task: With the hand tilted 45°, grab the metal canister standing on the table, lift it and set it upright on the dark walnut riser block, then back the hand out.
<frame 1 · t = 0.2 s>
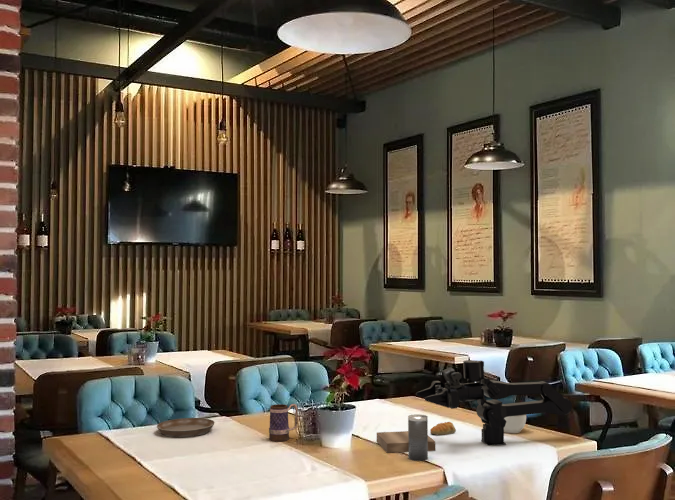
hand: (420, 396, 244), 17 cm above the table, tool horizontal, fingers open, 9 cm apart
plant saucer: (185, 433, 269), on the table
canister: (418, 458, 230), on the table
pastry: (443, 434, 264), on the table
mug: (283, 439, 256), on the table
riser: (405, 445, 246), on the table
lidded jar: (511, 431, 266), on the table
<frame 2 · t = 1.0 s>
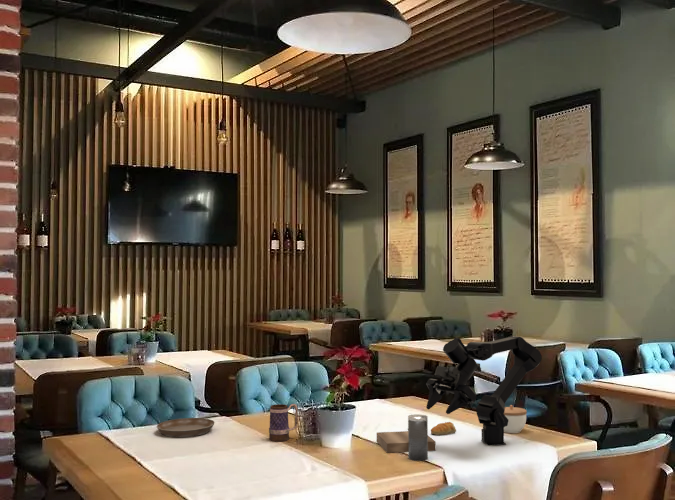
hand: (436, 410, 235), 14 cm above the table, tool tilted 45°, fingers open, 9 cm apart
nothing on the table moved.
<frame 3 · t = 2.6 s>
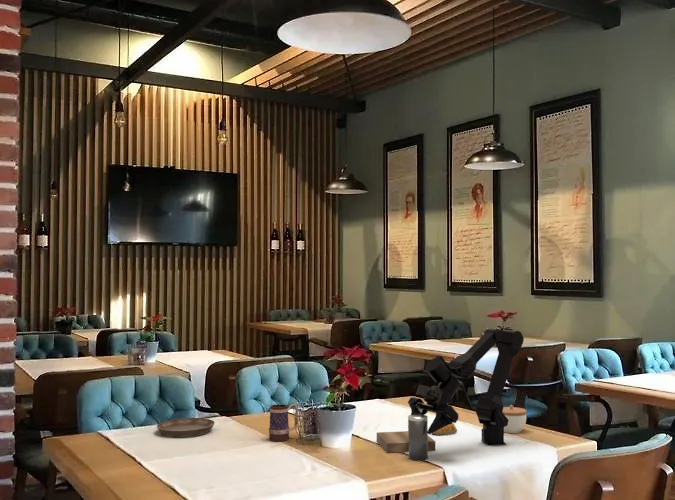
hand: (418, 430, 230), 8 cm above the table, tool tilted 45°, fingers open, 9 cm apart
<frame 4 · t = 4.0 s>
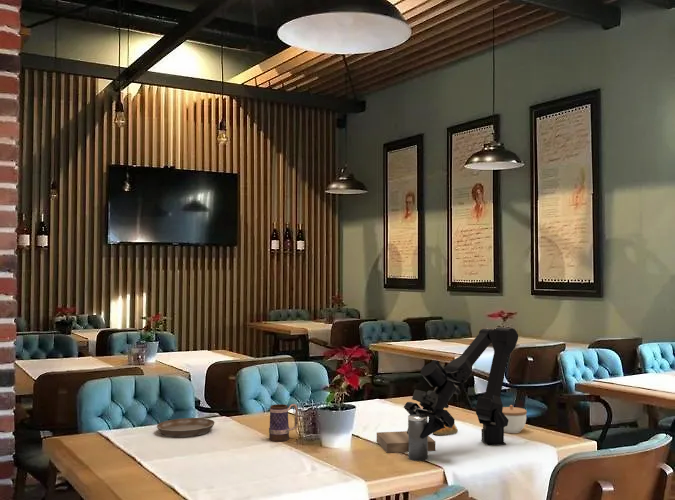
hand: (414, 435, 229), 7 cm above the table, tool tilted 45°, fingers closed on canister, 6 cm apart
canister: (418, 458, 230), on the table, touching gripper
everything else where it was.
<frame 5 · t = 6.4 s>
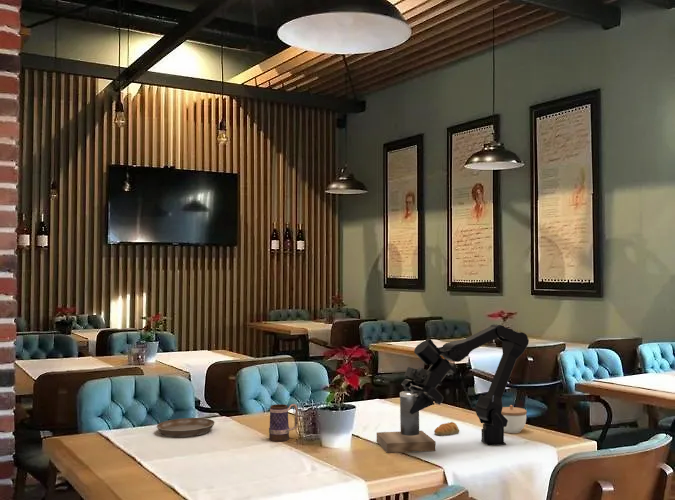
hand: (405, 411, 236), 13 cm above the table, tool tilted 45°, fingers closed on canister, 6 cm apart
canister: (409, 433, 236), point 6 cm above the table, touching gripper
when the fingers open (11 cm above the table, at t = 8.6 s): canister stays where it is, resting on riser.
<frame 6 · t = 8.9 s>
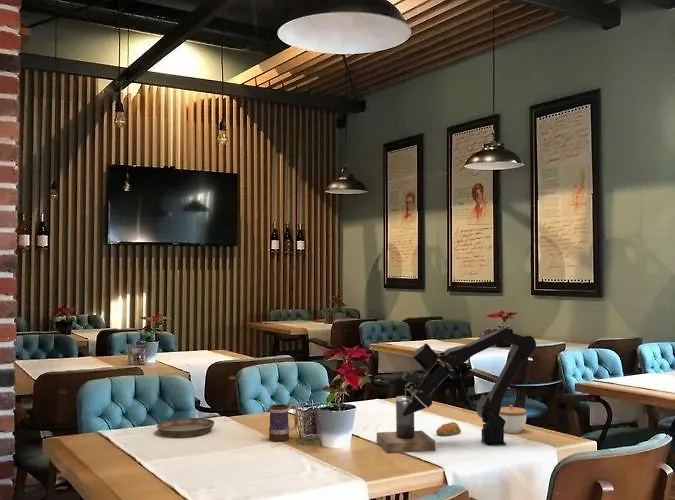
hand: (400, 412, 246), 11 cm above the table, tool tilted 45°, fingers open, 8 cm apart
canister: (405, 436, 246), point 3 cm above the table, touching riser
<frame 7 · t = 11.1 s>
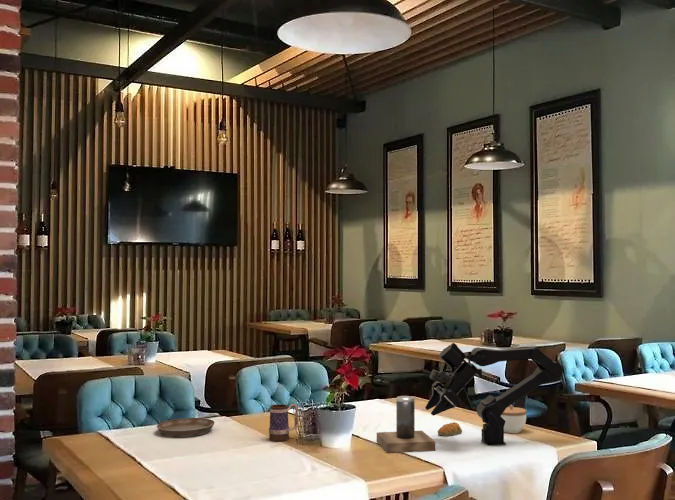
hand: (428, 411, 247), 11 cm above the table, tool tilted 45°, fingers open, 9 cm apart
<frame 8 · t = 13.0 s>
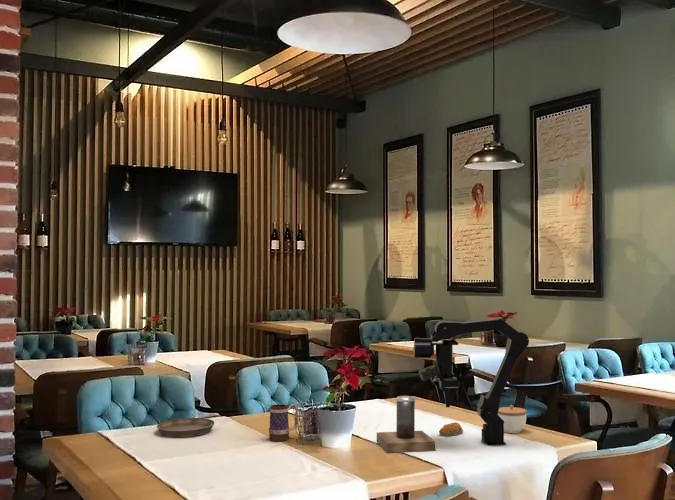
hand: (444, 404, 249), 13 cm above the table, tool pointing down, fingers open, 9 cm apart
at the end: canister inside the target area on the riser (0.1 cm from its centre), point 3.0 cm above the riser's base; canister tilted 1°; the gripper is holding nothing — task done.
